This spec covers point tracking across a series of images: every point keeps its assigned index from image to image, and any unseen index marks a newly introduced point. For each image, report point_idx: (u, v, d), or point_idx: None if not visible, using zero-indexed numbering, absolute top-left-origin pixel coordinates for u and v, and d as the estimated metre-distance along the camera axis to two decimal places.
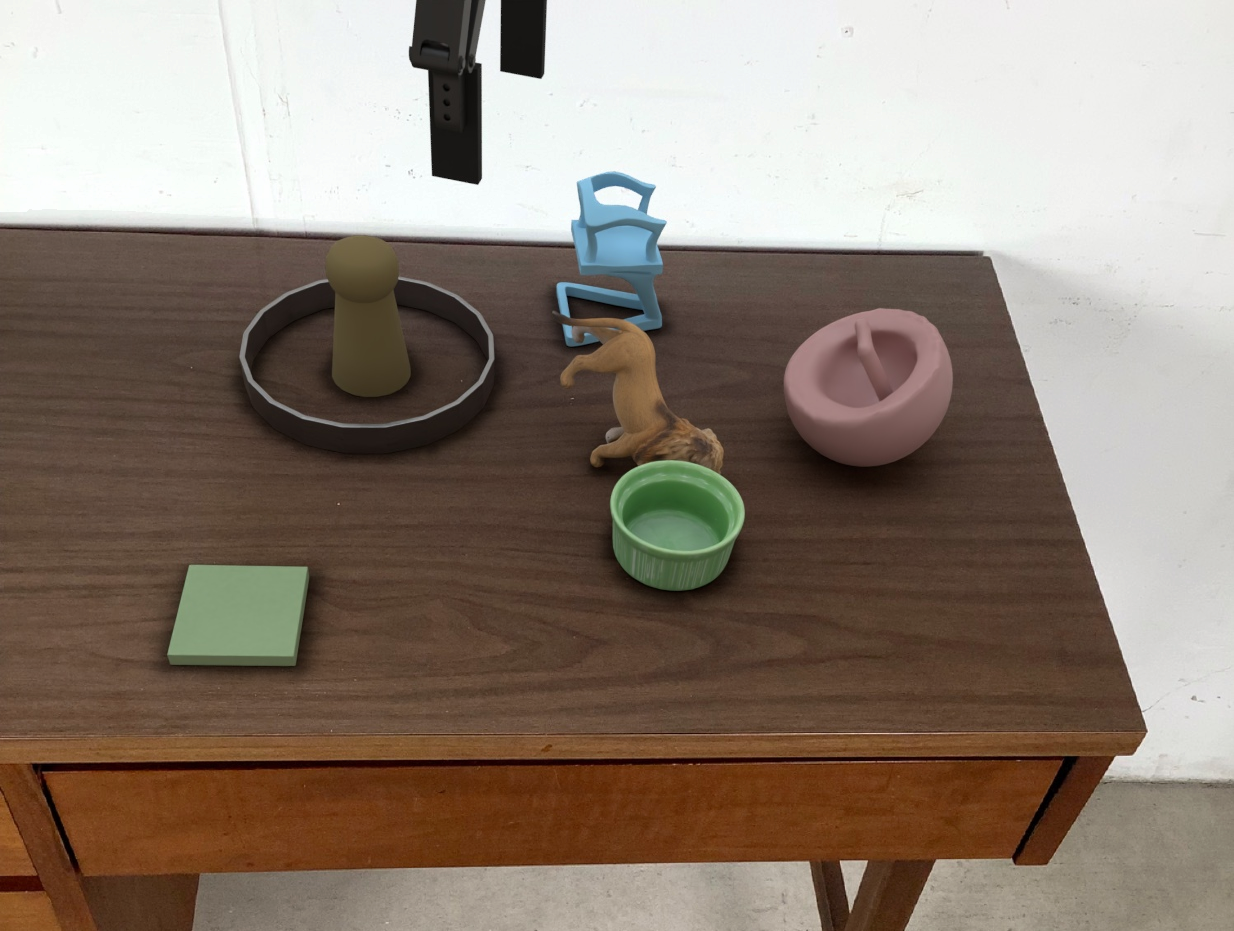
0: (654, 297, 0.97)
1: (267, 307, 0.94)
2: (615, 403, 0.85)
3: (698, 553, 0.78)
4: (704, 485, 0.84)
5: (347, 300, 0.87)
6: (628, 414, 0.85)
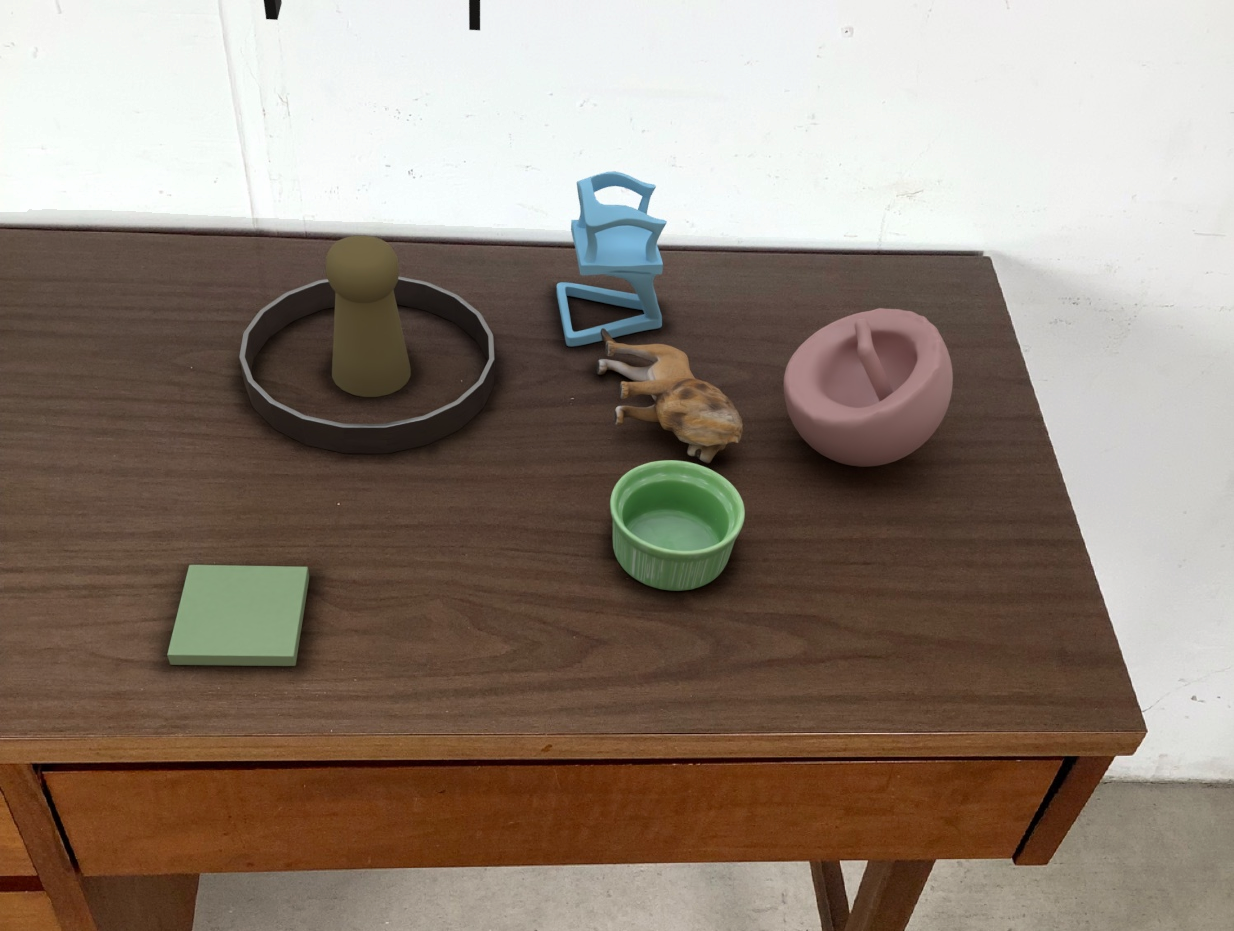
0: (654, 297, 0.97)
1: (267, 307, 0.94)
2: (656, 366, 0.91)
3: (698, 553, 0.78)
4: (704, 485, 0.84)
5: (347, 300, 0.87)
6: (672, 368, 0.90)
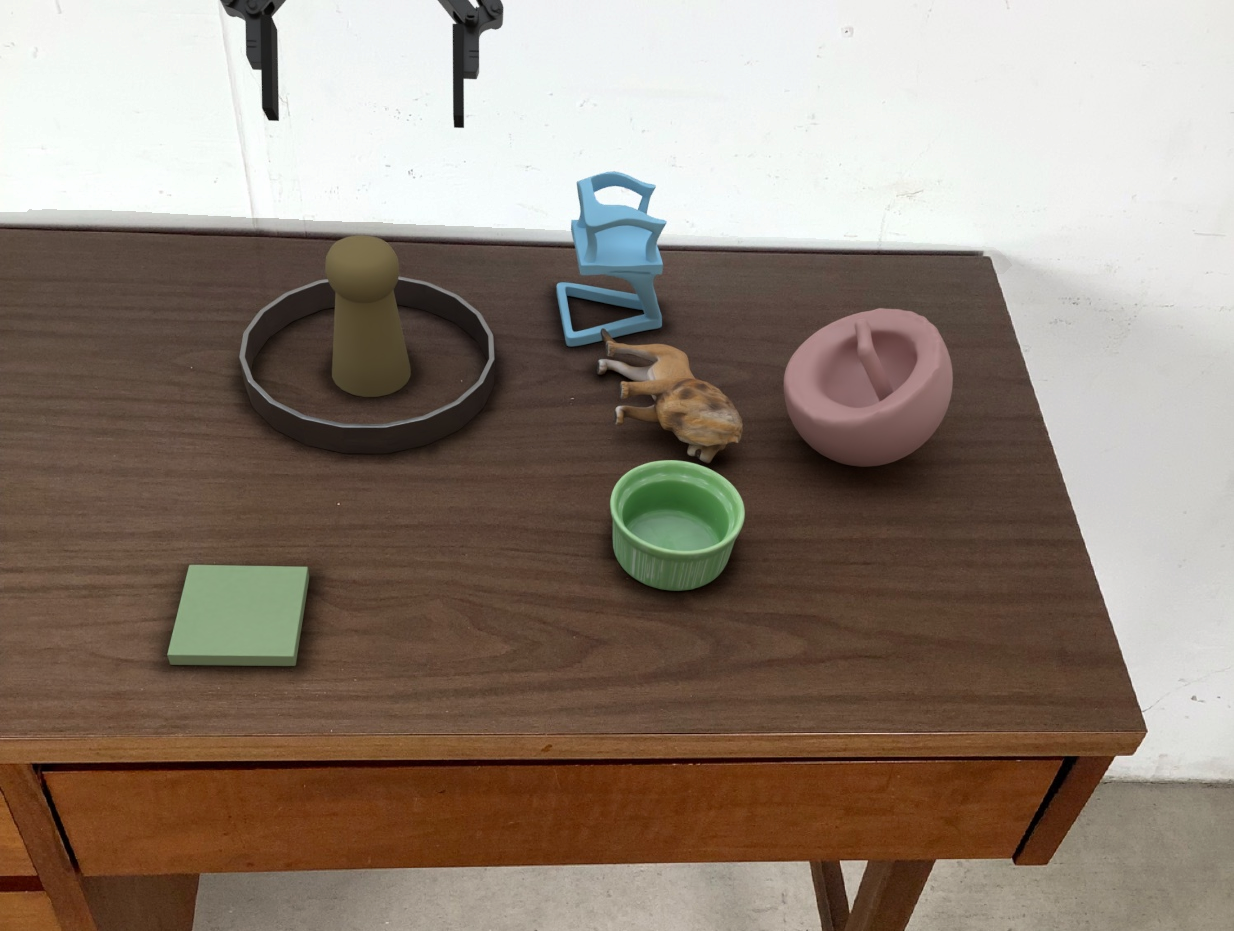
0: (654, 297, 0.97)
1: (267, 307, 0.94)
2: (656, 366, 0.91)
3: (698, 553, 0.78)
4: (704, 485, 0.84)
5: (347, 300, 0.87)
6: (672, 368, 0.90)
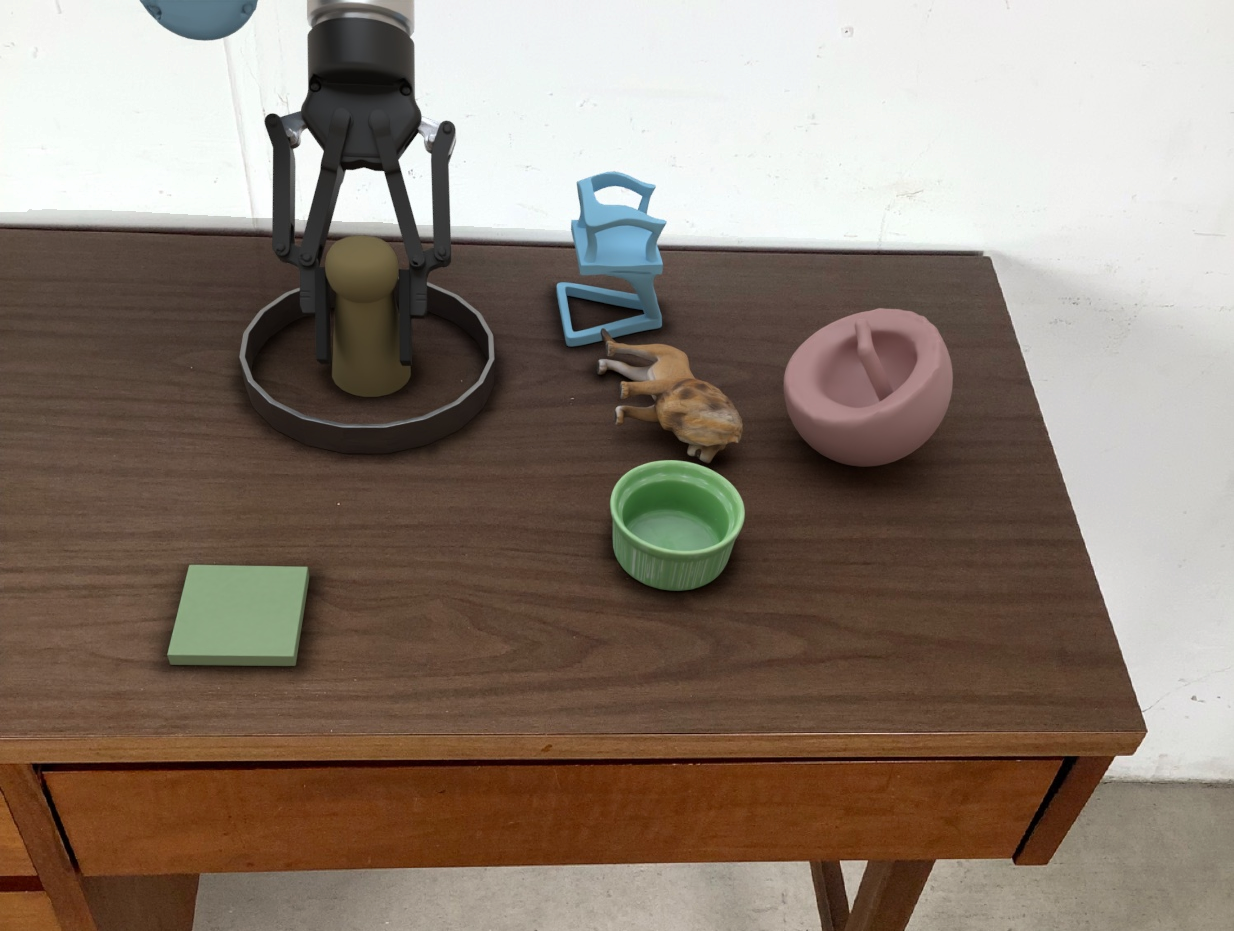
0: (654, 297, 0.97)
1: (267, 307, 0.94)
2: (656, 366, 0.91)
3: (698, 553, 0.78)
4: (704, 485, 0.84)
5: (347, 300, 0.87)
6: (672, 368, 0.90)
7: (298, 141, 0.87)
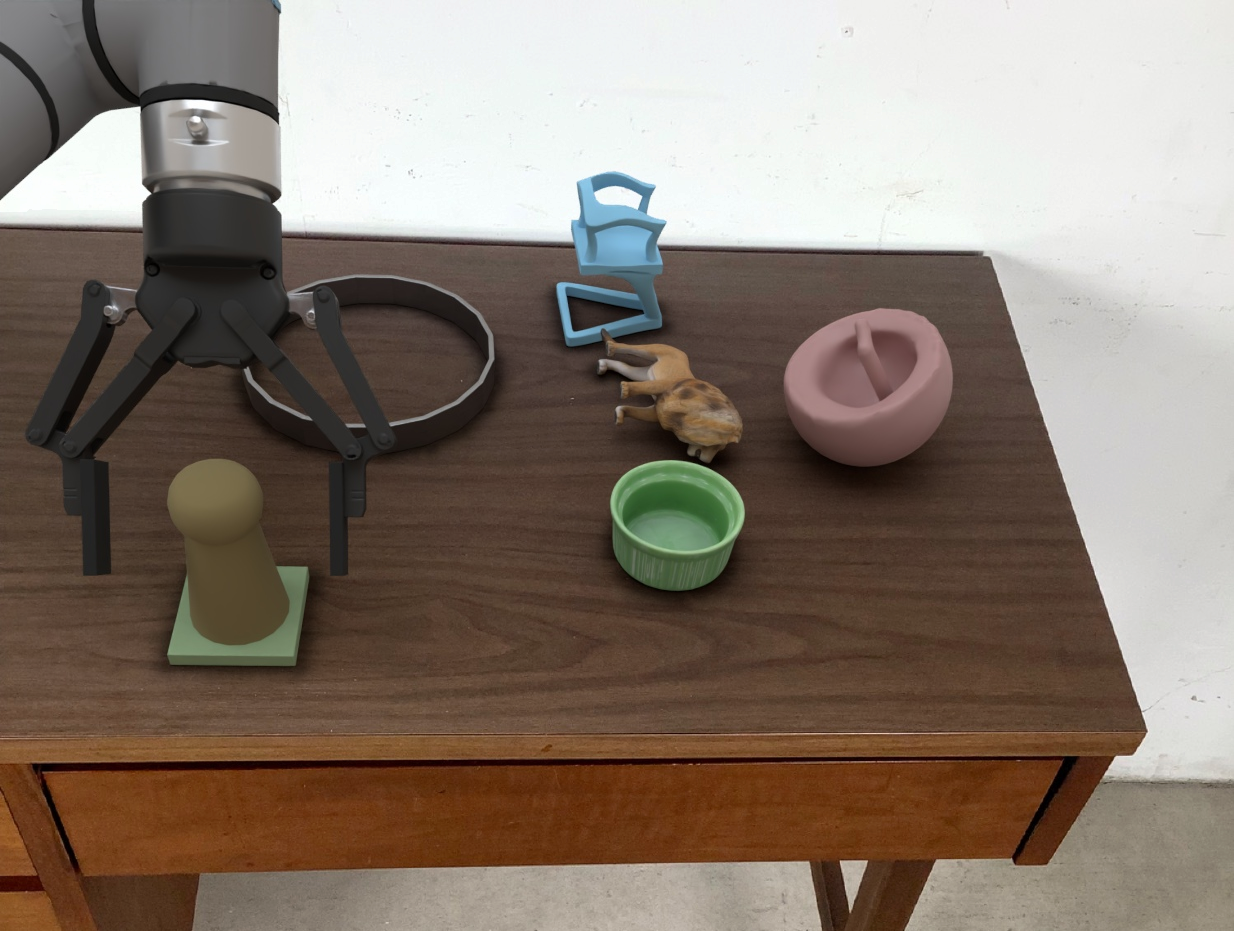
0: (654, 297, 0.97)
1: None
2: (656, 366, 0.91)
3: (698, 553, 0.78)
4: (704, 485, 0.84)
5: (196, 542, 0.69)
6: (672, 368, 0.90)
7: (119, 322, 0.69)
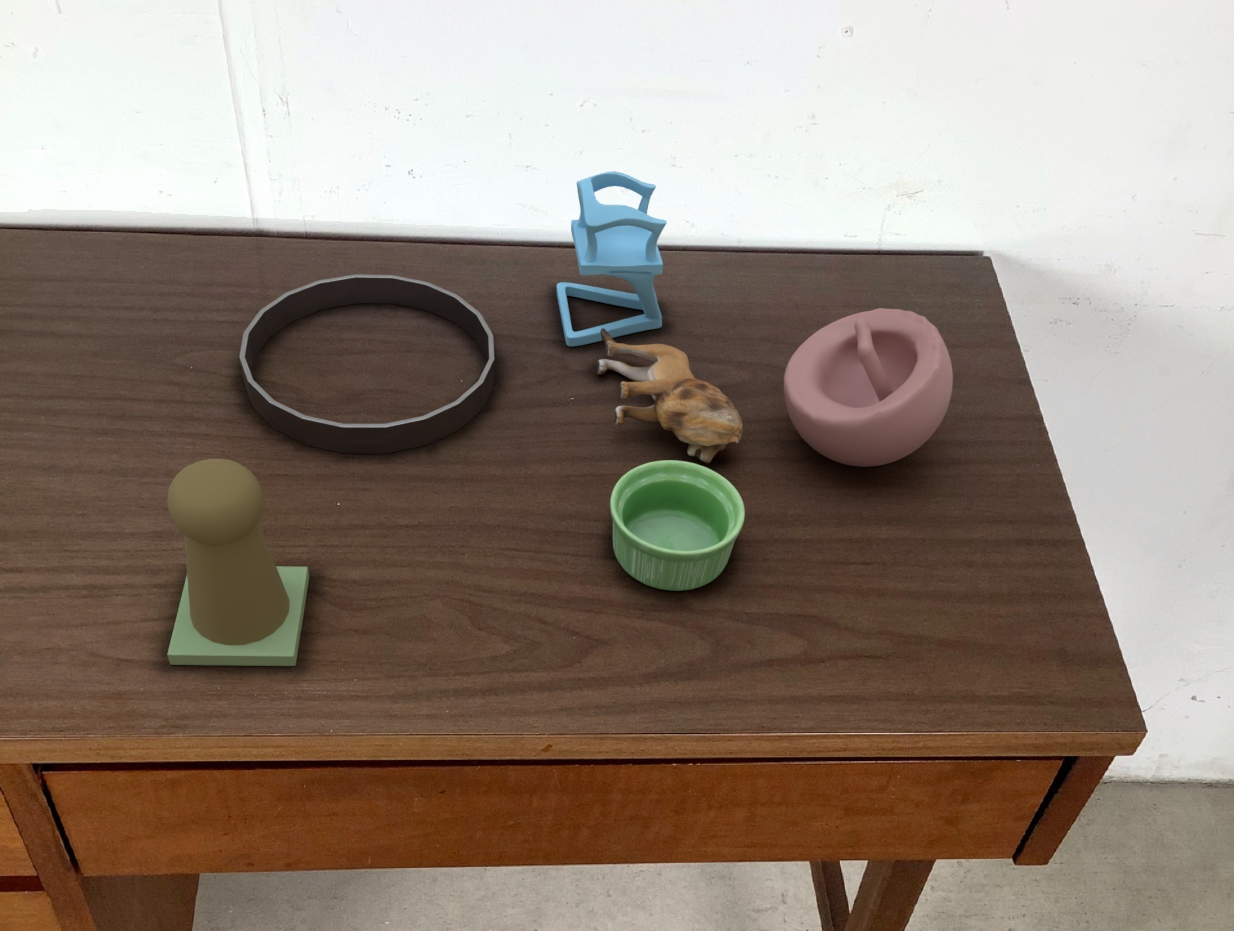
0: (654, 297, 0.97)
1: (267, 307, 0.94)
2: (656, 366, 0.91)
3: (698, 553, 0.78)
4: (704, 485, 0.84)
5: (196, 542, 0.69)
6: (672, 368, 0.90)
7: None
